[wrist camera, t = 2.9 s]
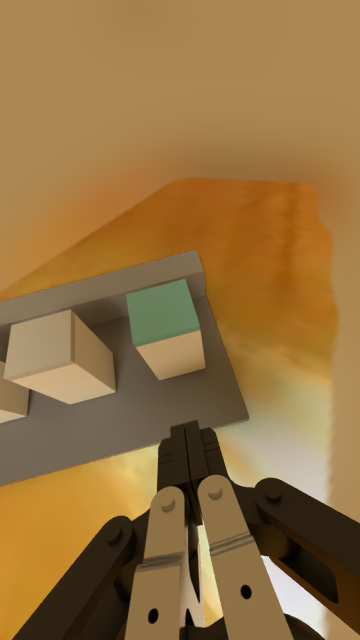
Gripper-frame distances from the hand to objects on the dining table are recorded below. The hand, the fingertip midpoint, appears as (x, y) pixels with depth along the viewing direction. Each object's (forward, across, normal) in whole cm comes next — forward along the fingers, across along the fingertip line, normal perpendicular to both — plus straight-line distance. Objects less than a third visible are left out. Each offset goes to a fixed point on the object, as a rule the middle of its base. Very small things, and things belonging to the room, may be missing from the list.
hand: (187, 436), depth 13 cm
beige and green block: (+11, 0, 0) cm, 11 cm away
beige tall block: (+11, +8, 0) cm, 14 cm away
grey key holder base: (+13, +8, 0) cm, 15 cm away
